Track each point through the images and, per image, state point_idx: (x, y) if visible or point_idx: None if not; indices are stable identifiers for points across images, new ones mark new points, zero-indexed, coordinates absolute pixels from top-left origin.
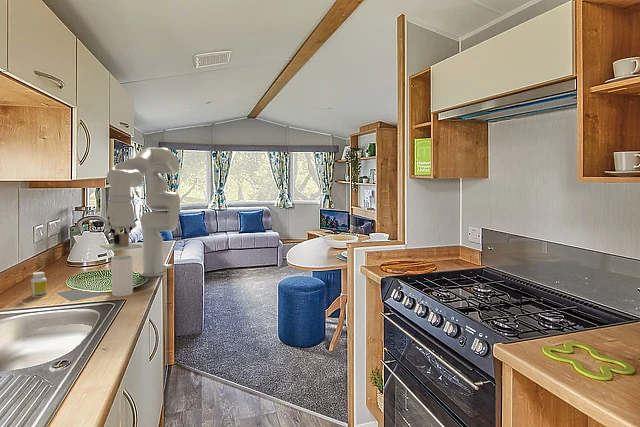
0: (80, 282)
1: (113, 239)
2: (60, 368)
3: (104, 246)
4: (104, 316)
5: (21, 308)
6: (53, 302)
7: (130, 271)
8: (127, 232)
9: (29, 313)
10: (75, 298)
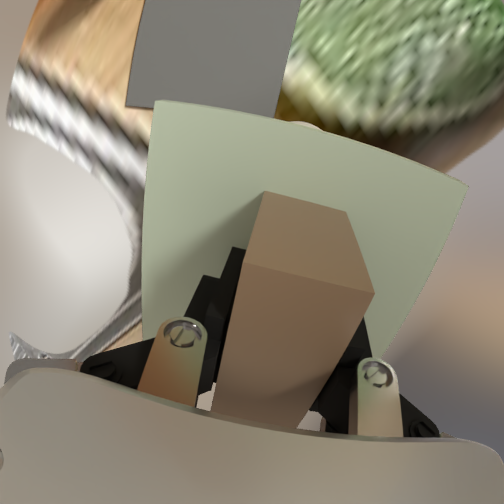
0: None
1: (198, 284)
2: None
3: (144, 200)
4: (133, 291)
5: (36, 67)
6: (97, 65)
7: None
8: (331, 420)
9: (33, 125)
10: (149, 82)
